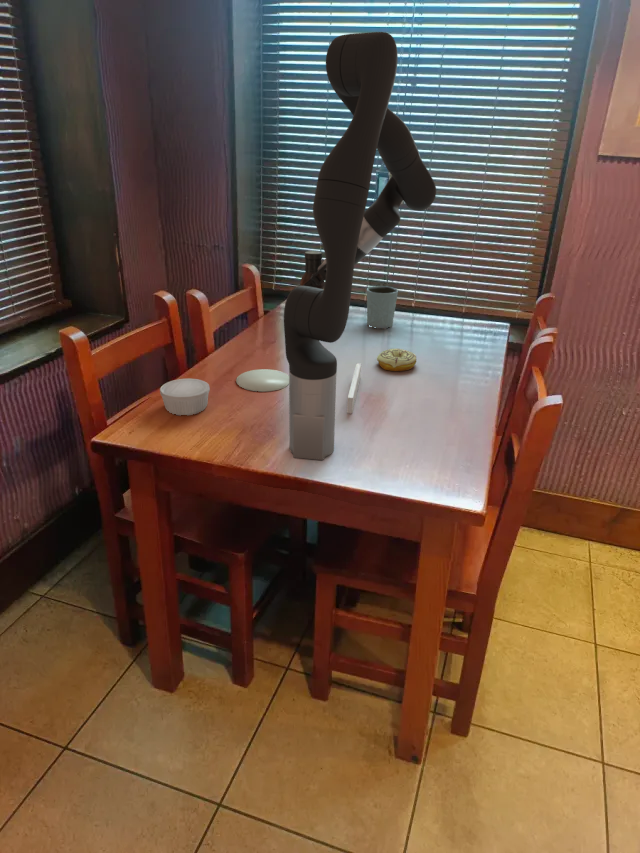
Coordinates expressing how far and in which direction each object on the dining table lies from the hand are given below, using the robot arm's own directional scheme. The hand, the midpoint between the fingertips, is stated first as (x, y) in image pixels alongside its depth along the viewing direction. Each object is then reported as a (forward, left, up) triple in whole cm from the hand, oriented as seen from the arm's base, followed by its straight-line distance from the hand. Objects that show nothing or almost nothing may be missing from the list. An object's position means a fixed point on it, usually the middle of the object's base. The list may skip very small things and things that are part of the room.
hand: (305, 288), depth 142 cm
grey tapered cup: (+55, -16, -25) cm, 62 cm away
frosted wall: (-3, -13, -25) cm, 28 cm away
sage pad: (+1, +11, -25) cm, 27 cm away
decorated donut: (+19, -23, -25) cm, 39 cm away
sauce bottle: (0, -2, -11) cm, 12 cm away
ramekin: (-18, +25, -25) cm, 40 cm away
